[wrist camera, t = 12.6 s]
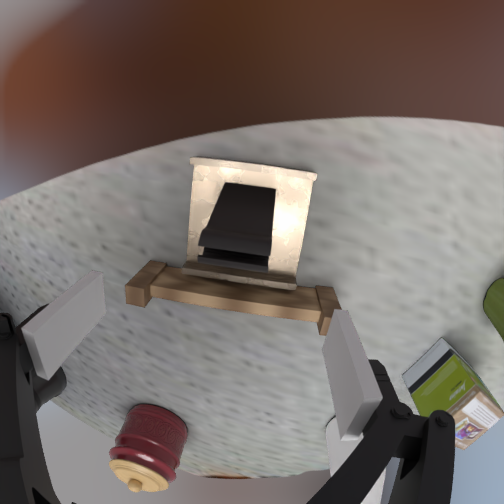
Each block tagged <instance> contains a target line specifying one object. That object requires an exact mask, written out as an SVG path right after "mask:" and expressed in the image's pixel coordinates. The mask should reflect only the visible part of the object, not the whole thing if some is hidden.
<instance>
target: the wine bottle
mask: <svg viewBox="0 0 504 504" xmlns="http://www.w3.org/2000/svg"><path fill="white" fill-rule="evenodd" d="M362 439H363V433H361V435H360V437H359V438H358V440H349V441H340V435H339V430H338V424H337V419H336V417H335V418H333V419H332V420H331V421H330V422H329V423H328V425H327V427H326V440H327V448H328V456H329V464H330V472H331V477H332V476H333V475H334V473H335V472H336V471H337V470H338V469H339V468H340V466H341V465H342V464H343V463H344V462H345V460H346V459H347V458H348V457H349V456H350V454H351V453H352V452H353V450H354V449H355V448H356V447H357V445H358V444H359V443H360V441H361V440H362ZM385 472H386V468H385V469H384V471H383V472H382V474H381V475H380V477H379V478H378V480H377V481H376V483H375V484H374V486H373V487H372V489H371V490H370V492H369V493H368V494H367V496H366V497H365V499H364V500H363V501H362V503H361V504H380V501H381V496H382V490H383V484H384V479H385Z"/></svg>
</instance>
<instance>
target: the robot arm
mask: <svg viewBox="0 0 504 504" xmlns="http://www.w3.org/2000/svg"><path fill="white" fill-rule="evenodd" d="M105 314H106V304H105V294H104V283H103V272H98V271H93V270H92V271H91V272H89V273H88V274H87V275H85V276H84V277H83V278H81V279H80V280H79V281H78V282H76V283H75V284H74V285H73V286H71V287H70V288H69V289H67V290H66V291H65V292H64V293H62V294H61V295H60V296H59V297H58V298H56V299H55V300H54V301H53V302H51V303H50V304H46V305H44V306H42V307H40V308H38V309H37V310H36V311H35V312H34V313H32V314H31V315H30V316H29V317H28V318H26V319H25V320H24V321H23V322H22V323H21V324H19V325H18V326H17V327H16V328H15V325H14V322H13V318H12V316H11V315H10V314H8V313H0V504H61V503H60V501H59V500H58V498H57V496H56V495H55V492H54V490H53V487H52V484H51V480H50V477H49V473H48V470H47V466H46V462H45V457H44V453H43V449H42V444H41V439H40V434H39V429H38V423H37V417H36V413H37V411H38V410H39V409H40V407H41V406H42V405H43V404H44V403H46V402H47V401H49V400H50V399H52V398H53V397H56V396H58V395H60V394H61V393H62V391H63V390H64V389H65V387H66V378H65V375H64V372H63V370H62V369H61V367H60V366H61V365H62V364H63V362H64V361H65V360H66V359H67V358H68V357H69V355H70V354H71V353H72V352H73V351H74V349H75V348H76V347H77V346H78V345H79V344H80V343H81V341H82V340H83V339H84V338H85V337H86V336H87V334H88V333H89V332H90V331H91V330H92V329H93V328H94V327H95V325H96V324H97V323H98V322H99V321H100V320H101V319H102V318H103V317H104V315H105ZM322 351H323V355H324V360H325V365H326V369H327V374H328V379H329V384H330V389H331V394H332V399H333V404H334V409H335V414H336V419H337V424H338V430H339V435H340V441H349V440H358V438H359V437H360V435H361V433H363V439H362V440H361V441H360V443H359V444H358V445H357V447H356V448H355V449H354V450H353V452H352V453H351V454H350V456H349V457H348V458H347V459H346V460H345V462H344V463H343V464H342V465H341V466H340V468H339V469H338V470H337V471H336V472H335V473H334V475H333V476H332V477H331V478H330V479H329V480H328V481H327V482H326V484H325V485H324V486H323V487H322V488H321V489H320V490H319V491H318V492H317V493H316V494H315V495H314V496H313V497H312V498H311V499H310V501H308V502H307V504H361V503H362V501H363V500H364V499H365V497H366V496H367V494H368V493H369V492H370V490H371V489H372V487H373V486H374V484H375V483H376V481H377V480H378V478H379V477H380V475H381V474H382V472H383V471H384V469H385V468H386V466H387V464H388V463H389V461H390V459H391V458H392V457H397V458H400V463H399V467H398V471H397V475H396V479H395V482H394V486H393V489H392V493H391V496H390V500H389V503H388V504H450V499H451V492H452V483H453V472H454V458H455V420H454V418H453V416H452V415H451V414H449V413H448V412H446V411H444V410H435V411H433V412H432V413H431V414H430V416H429V417H425V416H419V415H415V414H413V412H412V410H411V409H410V407H409V406H407V405H406V404H404V403H401V402H399V399H398V397H397V395H396V392H395V390H394V388H393V385H392V383H391V382H390V378H389V376H388V374H387V371H386V369H385V367H384V366H383V365H382V364H381V363H380V362H379V361H378V360H368V358H367V356H366V353H365V351H364V348H363V346H362V343H361V341H360V338H359V336H358V334H357V331H356V329H355V326H354V324H353V322H352V319H351V317H350V315H349V312H348V310H339V309H334V312H333V316H332V319H331V323H330V326H329V329H328V333H327V336H326V339H325V342H324V345H323V348H322ZM72 504H76V503H73V502H72Z"/></svg>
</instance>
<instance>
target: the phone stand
mask: <svg viewBox="0 0 504 504" xmlns="http://www.w3.org/2000/svg"><path fill="white" fill-rule="evenodd" d="M275 197H276V189H273V188H266V187H258V186H251V185H243V184H235V183H227V182H225V183H224V185H223V188H222V190H221V192H220V195H219V197H218V200H217V202H216V204H215V207H214V209H213V211H212V214H211V216H210V219H209V221H208V224H207V226H206V227H205V228H204V229H203V230H202V232H201V234H200V238H199V242H198V246H201V247H204V250H203V254H202V255H199V254H198V256H197V260H198V263H202V264H209V265H216V266H222V267H229V268H236V269H243V270H250V271H257V272H264V273H267V272H268V268H269V265H268V260H269V256H270V255H271V247H272V231H273V220H274V208H275Z"/></svg>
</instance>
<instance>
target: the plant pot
mask: <svg viewBox="0 0 504 504" xmlns="http://www.w3.org/2000/svg"><path fill="white" fill-rule="evenodd" d="M484 312H485V313H486V315H487V316H488V318H489V319H490V321H491V322H492V324H493V325H494V327H495V328H496V330H497V331H498V333H499V334H500V336H501V337H502V339H503V341H504V278H501V279H498V280H497V281H495V282H494V283H493V284H492V285H491V287H490V288H489V290H488V291H487V295H486V298H485V300H484Z"/></svg>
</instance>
